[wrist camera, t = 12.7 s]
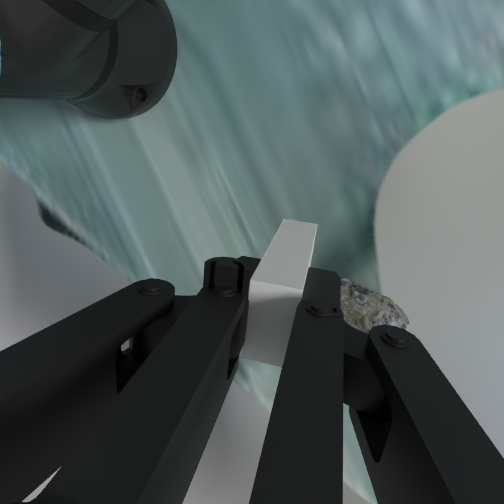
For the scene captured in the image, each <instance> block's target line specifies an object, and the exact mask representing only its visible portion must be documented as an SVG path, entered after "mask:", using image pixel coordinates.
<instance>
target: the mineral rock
mask: <svg viewBox="0 0 504 504" xmlns="http://www.w3.org/2000/svg"><path fill="white" fill-rule="evenodd" d="M340 309H341V310H342V312H343V315H344V321H345V322H346V323H347V324H349V325H350V326H352V327H353V328H356V329H358V330H360V331H362V332H365V333H367V334H369V331H370V329H371V328H372V327H374V326H377V325H390V326H397V327H399V328H403V329H405V328H406V327H407V325H408V324H409V321H408V318H407V316H406V314H405V313H404V311H403V310H402V309H401V308H400V307H399V306H398V305H395V304H394V302H393V301H392V300H391V299H390V298H388V297H386V296H383V295H380V294H379V293H376V292H374V291H373V290H372V289H367V288H366V287H365V286H364V285H356V284H354V283H351V282H350V281H349V280H348V279H346V278H344V279H341V308H340Z"/></svg>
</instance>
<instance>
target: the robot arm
mask: <svg viewBox="0 0 504 504" xmlns="http://www.w3.org/2000/svg"><path fill="white" fill-rule="evenodd" d="M176 59H177V38H176V31H175V27H174V23H173V19H172V16H171V13H170V11H169V9H168V6H167V4H166V2H165V1H164V0H0V98H14V99H47V100H66V101H68V102H69V103H71V104H73V105H75V106H77V107H79V108H81V109H82V110H84V111H86V112H88V113H91V114H93V115H96V116H100V117H105V118H129V117H134V116H137V115H140V114H142V113H144V112H146V111H148V110H149V109H151V108H152V107H153V106H154V105H156V104H157V103H158V101H159V100H160V99H161V98H162V97H163V95H164V94H165V92H166V91H167V89H168V87H169V85H170V83H171V80H172V77H173V74H174V71H175V66H176ZM316 230H317V224H314V223H307V222H301V221H295V220H289V219H284V220H283V221H282V223H281V225H280V227H279V229H278V230H277V232H276V234H275V236H274V238H273V239H272V241H271V243H270V245H269V247H268V249H267V250H266V252H265V254H264V256H263V258H262V259H257V258H252V257H246V256H241V257H239V258H237V259H235V258H230V257H215V258H211V259H208V260H207V261H205V265H204V281H203V288H202V289H201V290H200V292H199V293H198V294H197V295H195V296H179V295H175V287H174V286H173V285H172V284H171V283H169V282H167V281H164V280H160V279H154V278H152V279H146V280H141V281H138V282H135V283H133V284H131V285H129V286H127V287H125V288H123V289H121V290H119V291H118V292H116V293H113V294H111V295H109V296H107V297H106V298H104V299H102V300H100V301H98V302H96V303H94V304H92V305H90V306H88V307H86V308H84V309H82V310H80V311H78V312H76V313H74V314H72V315H70V316H68V317H67V318H65V319H63V320H61V321H59V322H57V323H55V324H53V325H51V326H49V327H47V328H45V329H43V330H41V331H39V332H37V333H35V334H33V335H31V336H29V337H27V338H26V339H24V340H22V341H20V342H18V343H16V344H14V345H12V346H10V347H8V348H6V349H4V350H2V351H0V504H182V503H183V501H184V498H185V496H186V493H187V491H188V488H189V486H190V484H191V481H192V478H193V476H194V474H195V471H196V469H197V466H198V464H199V461H200V459H201V457H202V454H203V452H204V449H205V447H206V444H207V442H208V439H209V437H210V434H211V432H212V429H213V427H214V425H215V422H216V420H217V417H218V415H219V412H220V410H221V407H222V405H223V402H224V400H225V398H226V395H227V393H228V390H229V387H230V385H231V383H232V380H233V378H234V376H235V373H236V371H237V368H238V361H239V353H240V351H241V349H242V346H243V350H242V358H246V359H251V360H255V361H259V362H264V363H268V364H272V365H276V366H281V367H282V370H281V374H280V379H279V383H278V387H277V391H276V395H275V399H274V403H273V407H272V411H271V415H270V420H269V424H268V428H267V432H266V436H265V440H264V444H263V448H262V452H261V456H260V460H259V465H258V469H257V473H256V477H255V481H254V485H253V489H252V493H251V498H250V501H249V504H342V503H343V502H342V500H343V497H342V496H343V495H342V494H343V490H342V489H343V403H345V404H347V405H349V415H350V418H351V421H352V424H353V427H354V430H355V433H356V437H357V440H358V443H359V446H360V449H361V452H362V455H363V458H364V462H365V465H366V468H367V471H368V474H369V477H370V480H371V483H372V486H373V490H374V493H375V496H376V499H377V502H378V504H504V458H503V457H502V456H501V454H500V453H499V451H498V450H497V449H496V447H495V446H494V444H493V443H492V441H491V440H490V439H489V437H488V436H487V434H486V433H485V432H484V430H483V429H482V427H481V426H480V425H479V423H478V422H477V420H476V419H475V418H474V416H473V415H472V413H471V412H470V411H469V409H468V408H467V406H466V405H465V403H464V402H463V401H462V399H461V398H460V397H459V395H458V394H457V392H456V391H455V389H454V388H453V387H452V385H451V384H450V383H449V381H448V380H447V378H446V377H445V375H444V374H443V373H442V371H441V370H440V369H439V367H438V366H437V364H436V363H435V361H434V360H433V359H432V357H431V356H430V354H429V353H428V351H427V350H426V349H425V347H424V346H423V344H422V343H421V342H420V341H419V340H418V339H417V338H416V337H415V336H414V335H413V334H411V333H410V332H408V331H406V330H405V329H403V328H399V327H397V326H390V325H377V326H374V327H372V328H371V329H370V331H369V334H367V333H365V332H362V331H360V330H358V329H356V328H353V327H352V326H350V325H349V324H347V323H346V322H345V321H344V315H343V312H342V310H341V309H340V308H341V278H340V277H339V276H338V275H337V273H336V272H333V271H327V270H322V269H316V268H311V267H310V264H311V258H312V253H313V247H314V241H315V236H316ZM128 339H129V348H127V349H126V350H125V351H121V345H122V344H123V343H124V342H125V341H127V340H128ZM61 466H62V467H61ZM60 467H61V468H60ZM59 468H60V469H59ZM58 469H59V470H58ZM57 470H58V472H57V473H56V474H55V476H54V477H53V478H52V479H51V481H50V482H49V483H48V484H47V486H46V487H45V488H44V489H43V491H42V492H41V493H40V494H39V495H38V496H37V497H36V498H35V499H33V500H32V501H30V502H22V501H23V500H24V499H25V498H26V497H27V496H28V495H30V494H31V493H32V492H33V491H34V490H35V489H36V488H37V487H39V485H41V484H42V483H43V482H44V481H45V480H46V479H47V478H49V477H50V476H51V475H52V474H53V473H54V472H55V471H57Z"/></svg>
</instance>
